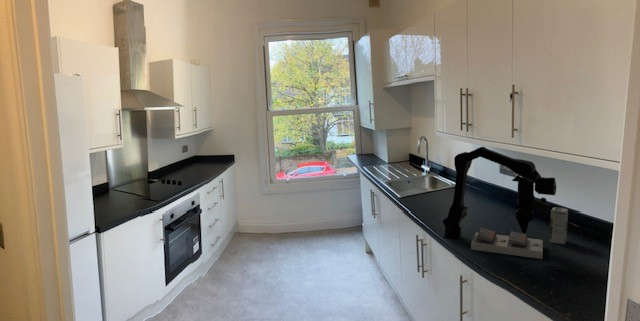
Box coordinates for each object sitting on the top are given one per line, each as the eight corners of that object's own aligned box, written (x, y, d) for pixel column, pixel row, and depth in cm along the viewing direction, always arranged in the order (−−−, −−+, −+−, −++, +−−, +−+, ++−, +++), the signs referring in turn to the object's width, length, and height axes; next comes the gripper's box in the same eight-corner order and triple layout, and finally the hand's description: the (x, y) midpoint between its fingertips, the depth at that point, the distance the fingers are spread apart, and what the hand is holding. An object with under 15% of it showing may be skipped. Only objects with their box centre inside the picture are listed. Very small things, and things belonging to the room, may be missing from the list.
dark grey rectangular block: (476, 237, 158) (477, 234, 158) (480, 229, 168) (481, 227, 167) (492, 242, 156) (492, 239, 155) (494, 234, 165) (495, 231, 165)
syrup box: (551, 238, 166) (552, 206, 164) (567, 240, 163) (568, 208, 161) (549, 242, 162) (550, 209, 160) (565, 245, 158) (566, 211, 156)
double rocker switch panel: (461, 248, 161) (461, 240, 160) (466, 237, 173) (466, 230, 172) (542, 259, 146) (542, 250, 145) (542, 246, 158) (542, 239, 157)
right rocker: (508, 242, 152) (509, 239, 152) (510, 233, 162) (510, 230, 161) (525, 245, 149) (525, 242, 149) (525, 237, 159) (526, 234, 159)
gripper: (549, 199, 140) (548, 239, 142) (548, 188, 156) (547, 225, 158) (515, 197, 145) (515, 236, 147) (518, 187, 161) (517, 222, 163)
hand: (524, 229), depth 154 cm, fingers open, 9 cm apart
